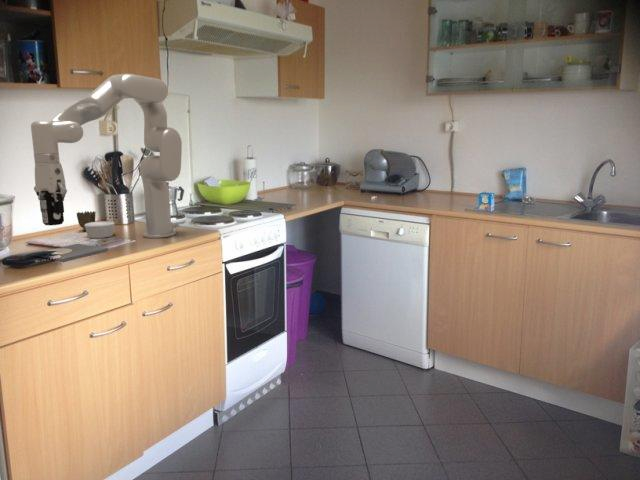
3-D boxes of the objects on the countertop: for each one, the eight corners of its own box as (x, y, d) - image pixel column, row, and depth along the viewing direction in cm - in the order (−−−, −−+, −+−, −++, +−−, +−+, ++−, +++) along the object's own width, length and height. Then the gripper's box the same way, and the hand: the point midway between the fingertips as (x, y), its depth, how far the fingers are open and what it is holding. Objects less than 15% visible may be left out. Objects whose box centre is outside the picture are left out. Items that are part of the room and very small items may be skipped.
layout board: (77, 246, 208) (77, 243, 208) (107, 250, 200) (107, 247, 200) (32, 256, 192) (32, 253, 192) (63, 261, 185) (62, 258, 184)
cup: (79, 229, 240) (77, 211, 238) (98, 228, 242) (96, 210, 240) (76, 233, 233) (75, 214, 231) (96, 232, 234) (94, 213, 233)
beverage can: (67, 222, 195) (63, 187, 193) (59, 225, 189) (55, 189, 187) (48, 222, 195) (44, 187, 193) (39, 225, 189) (35, 190, 186)
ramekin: (119, 233, 231) (118, 221, 230) (109, 239, 221) (108, 225, 219) (92, 233, 232) (91, 221, 231) (80, 239, 221) (79, 226, 220)
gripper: (74, 159, 187) (79, 212, 190) (40, 157, 195) (46, 209, 199) (53, 160, 180) (59, 215, 184) (20, 159, 189) (26, 212, 192)
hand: (52, 211), depth 191 cm, fingers closed on beverage can, 6 cm apart
